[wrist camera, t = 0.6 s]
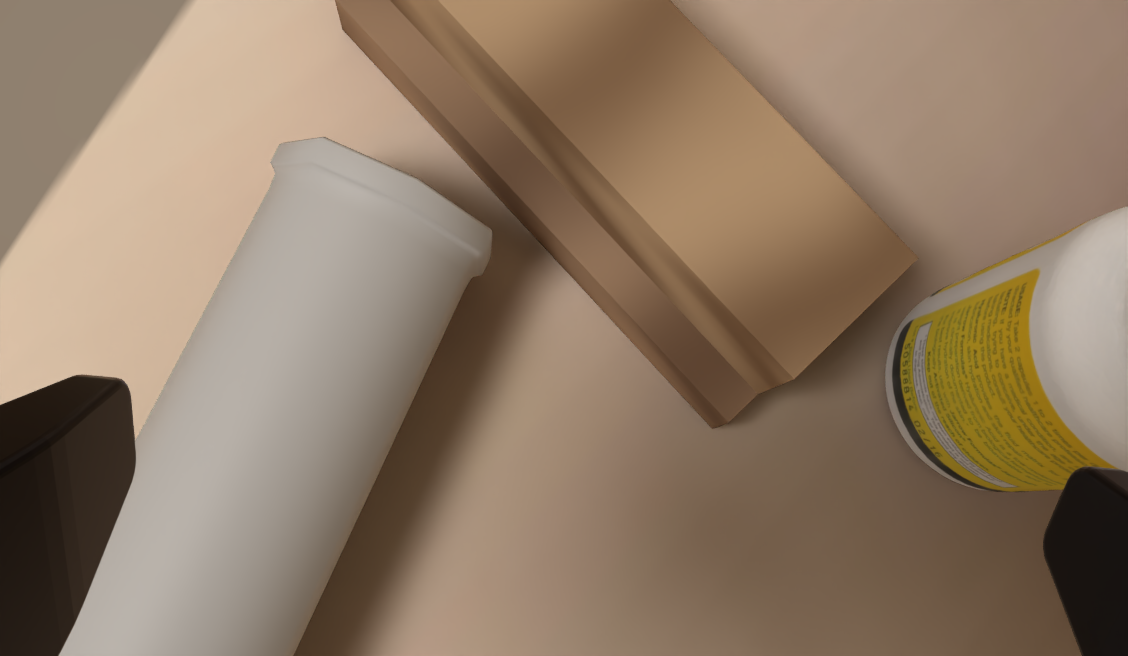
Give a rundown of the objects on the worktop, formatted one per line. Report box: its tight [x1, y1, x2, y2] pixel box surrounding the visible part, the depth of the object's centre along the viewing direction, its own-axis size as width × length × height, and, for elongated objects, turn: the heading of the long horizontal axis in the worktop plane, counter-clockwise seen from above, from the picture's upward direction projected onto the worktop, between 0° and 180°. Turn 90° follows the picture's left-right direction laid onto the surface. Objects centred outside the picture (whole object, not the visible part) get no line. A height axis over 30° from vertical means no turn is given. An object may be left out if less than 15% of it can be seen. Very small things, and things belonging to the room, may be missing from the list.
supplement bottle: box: [885, 206, 1128, 492], centre depth 20 cm, size 5×5×10 cm
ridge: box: [335, 0, 918, 428], centre depth 23 cm, size 14×6×4 cm, turn 43°
